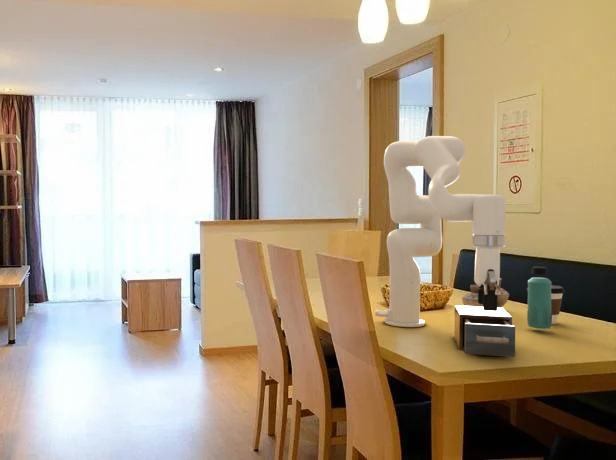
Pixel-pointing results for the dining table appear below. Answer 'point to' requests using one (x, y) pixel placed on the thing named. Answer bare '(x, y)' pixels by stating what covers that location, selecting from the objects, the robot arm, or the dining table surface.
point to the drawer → (488, 337)
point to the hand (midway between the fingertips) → (487, 307)
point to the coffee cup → (556, 301)
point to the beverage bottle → (539, 300)
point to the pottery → (472, 297)
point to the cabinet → (475, 313)
